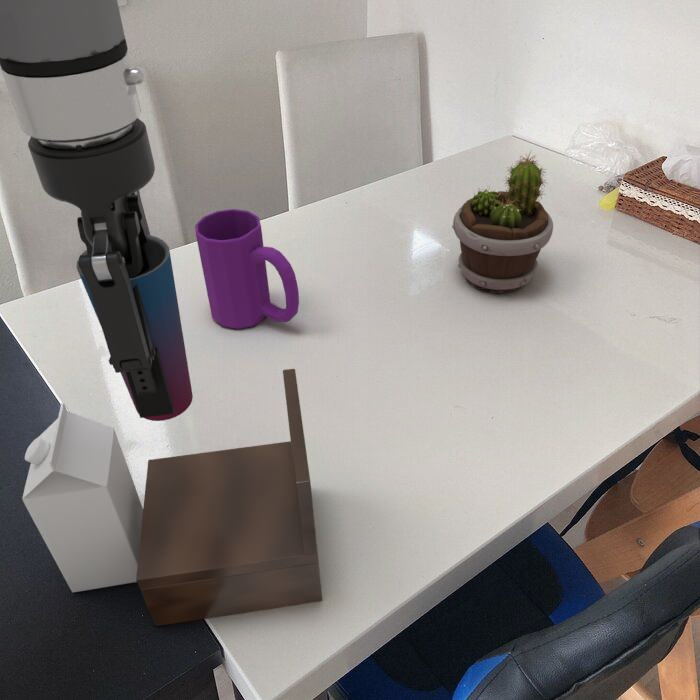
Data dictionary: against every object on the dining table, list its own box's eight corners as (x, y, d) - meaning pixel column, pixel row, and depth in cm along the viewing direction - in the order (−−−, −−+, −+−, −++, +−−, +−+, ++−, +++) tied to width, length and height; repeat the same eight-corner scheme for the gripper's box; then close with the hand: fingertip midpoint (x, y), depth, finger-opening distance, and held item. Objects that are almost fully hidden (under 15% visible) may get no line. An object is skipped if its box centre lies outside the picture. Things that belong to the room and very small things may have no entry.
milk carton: (149, 523, 73) (103, 396, 61) (145, 582, 68) (94, 455, 56) (81, 534, 73) (21, 408, 60) (72, 594, 67) (4, 468, 55)
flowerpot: (483, 314, 101) (498, 190, 88) (432, 264, 111) (439, 147, 99) (563, 289, 105) (589, 167, 92) (506, 243, 116) (522, 128, 103)
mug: (237, 288, 108) (223, 202, 98) (318, 317, 101) (312, 228, 92) (198, 319, 102) (179, 230, 92) (282, 352, 95) (271, 260, 86)
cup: (108, 409, 60) (56, 264, 50) (165, 366, 64) (127, 225, 54) (163, 440, 57) (118, 292, 47) (218, 393, 61) (188, 248, 51)
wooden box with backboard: (155, 626, 64) (106, 509, 53) (163, 507, 75) (124, 388, 64) (322, 600, 66) (310, 481, 54) (307, 487, 77) (294, 368, 65)
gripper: (130, 185, 38) (201, 462, 52) (153, 75, 52) (203, 316, 67) (-11, 198, 37) (101, 475, 52) (52, 83, 51) (126, 325, 66)
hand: (159, 385), depth 59 cm, fingers closed on cup, 6 cm apart
